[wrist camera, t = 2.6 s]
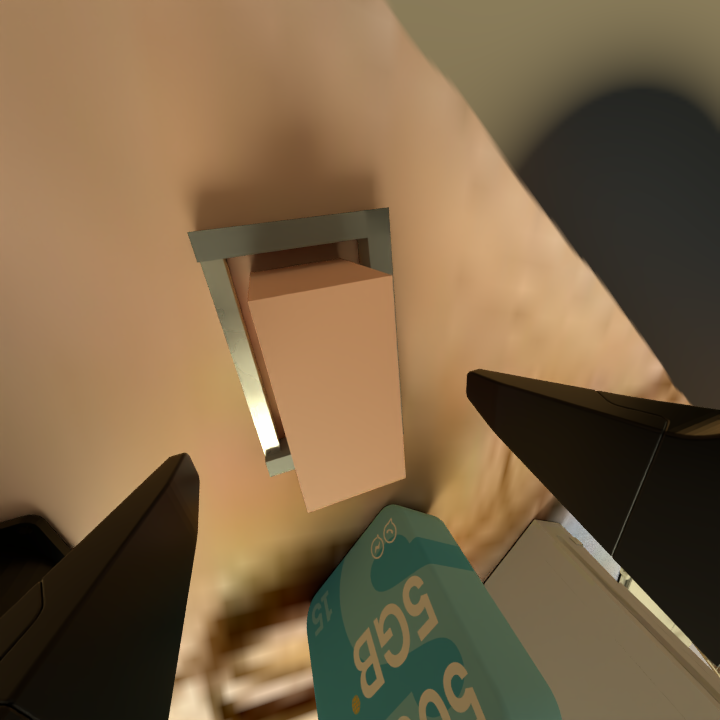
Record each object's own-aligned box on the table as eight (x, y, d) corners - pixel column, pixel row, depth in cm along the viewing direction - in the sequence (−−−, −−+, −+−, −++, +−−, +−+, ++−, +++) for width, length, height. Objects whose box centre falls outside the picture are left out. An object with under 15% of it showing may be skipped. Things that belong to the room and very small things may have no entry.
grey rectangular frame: (392, 419, 18) (403, 434, 17) (269, 457, 16) (270, 477, 15) (375, 210, 13) (388, 207, 12) (195, 232, 11) (187, 232, 10)
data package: (392, 492, 21) (531, 755, 10) (434, 506, 23) (584, 736, 12) (302, 608, 23) (342, 930, 12) (348, 611, 25) (416, 888, 14)
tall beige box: (359, 402, 17) (405, 477, 12) (290, 421, 16) (307, 513, 11) (339, 258, 14) (392, 275, 8) (250, 272, 13) (247, 301, 7)
